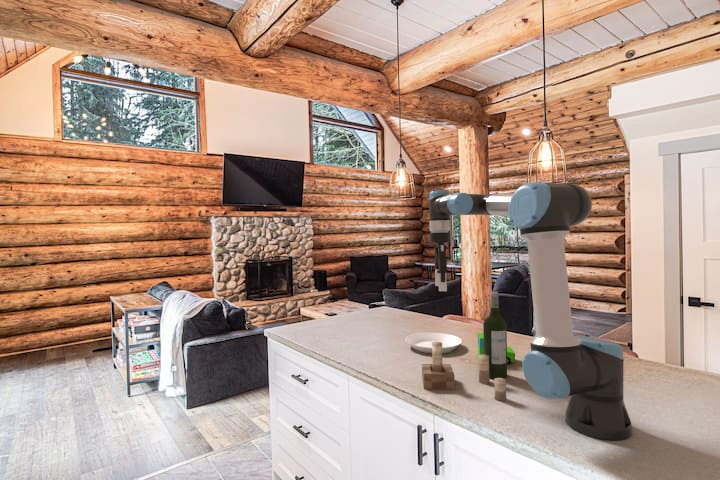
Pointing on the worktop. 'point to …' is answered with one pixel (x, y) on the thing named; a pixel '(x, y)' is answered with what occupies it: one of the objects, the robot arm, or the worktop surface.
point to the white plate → (425, 340)
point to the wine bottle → (495, 340)
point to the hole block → (438, 377)
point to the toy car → (481, 349)
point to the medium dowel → (484, 369)
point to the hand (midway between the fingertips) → (440, 288)
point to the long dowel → (437, 356)
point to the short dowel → (500, 389)
